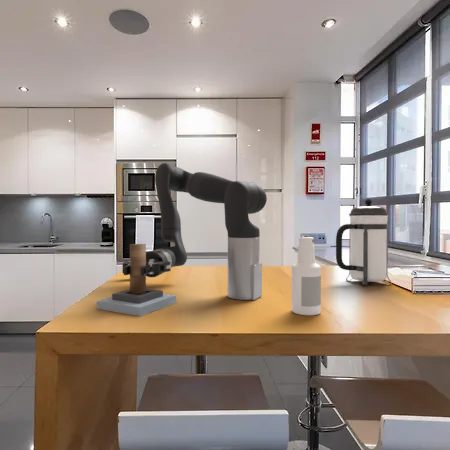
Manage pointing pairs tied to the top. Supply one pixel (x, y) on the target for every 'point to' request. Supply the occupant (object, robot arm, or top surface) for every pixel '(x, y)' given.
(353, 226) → the coffee press
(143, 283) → the peg
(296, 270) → the spray bottle
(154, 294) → the socket
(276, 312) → the top surface
